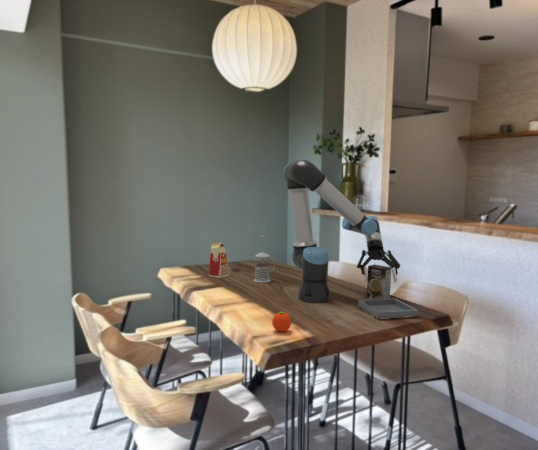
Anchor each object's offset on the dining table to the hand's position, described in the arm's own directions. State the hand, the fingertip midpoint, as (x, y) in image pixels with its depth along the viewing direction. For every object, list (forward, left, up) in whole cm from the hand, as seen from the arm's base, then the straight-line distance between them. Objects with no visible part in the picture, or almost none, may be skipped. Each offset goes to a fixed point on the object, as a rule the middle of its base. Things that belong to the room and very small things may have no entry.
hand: (380, 280), depth 201 cm
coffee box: (-2, -1, -9) cm, 10 cm away
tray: (-6, -18, -9) cm, 21 cm away
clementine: (-56, -31, -9) cm, 65 cm away
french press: (-44, +48, -9) cm, 66 cm away
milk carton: (-67, +64, -9) cm, 94 cm away
